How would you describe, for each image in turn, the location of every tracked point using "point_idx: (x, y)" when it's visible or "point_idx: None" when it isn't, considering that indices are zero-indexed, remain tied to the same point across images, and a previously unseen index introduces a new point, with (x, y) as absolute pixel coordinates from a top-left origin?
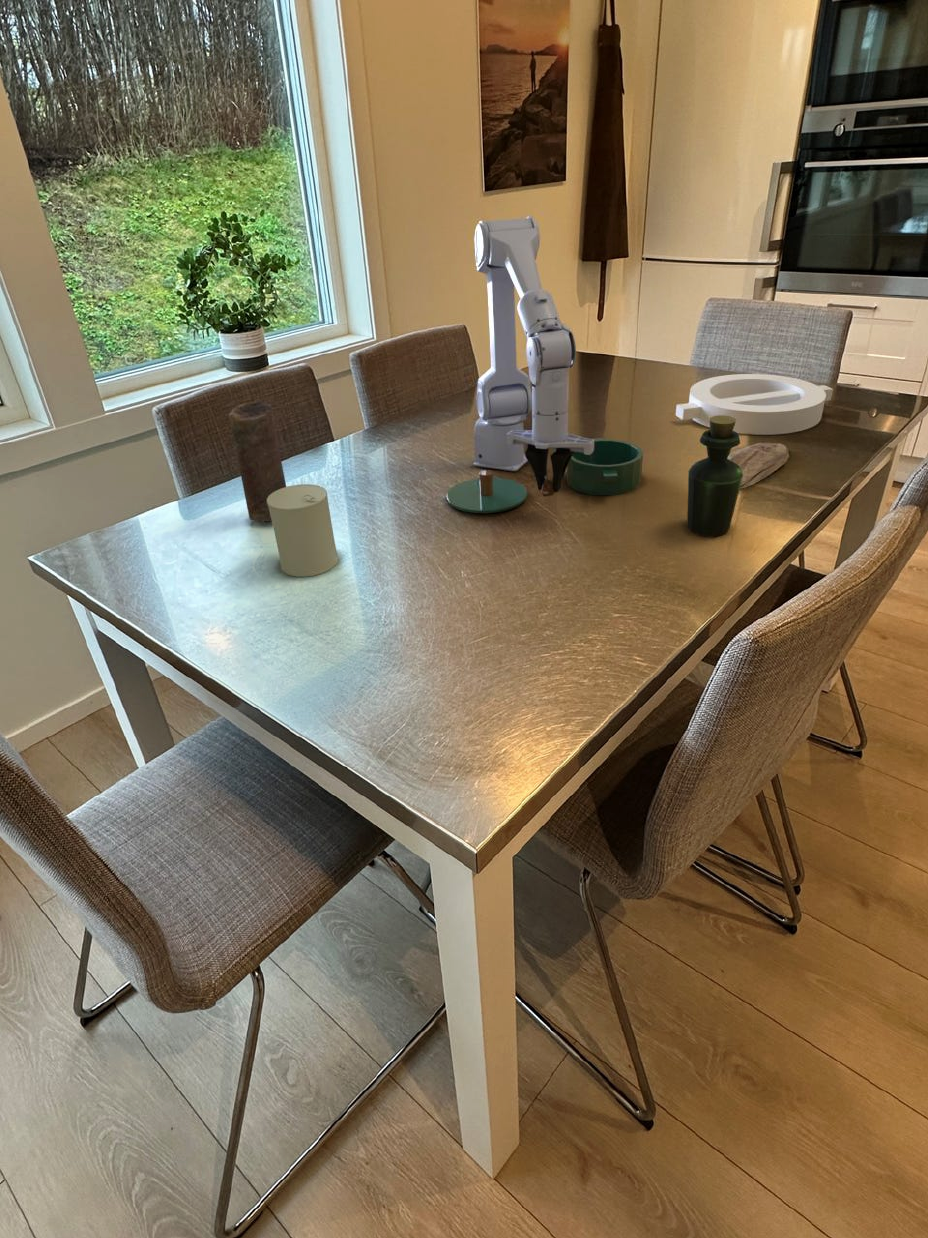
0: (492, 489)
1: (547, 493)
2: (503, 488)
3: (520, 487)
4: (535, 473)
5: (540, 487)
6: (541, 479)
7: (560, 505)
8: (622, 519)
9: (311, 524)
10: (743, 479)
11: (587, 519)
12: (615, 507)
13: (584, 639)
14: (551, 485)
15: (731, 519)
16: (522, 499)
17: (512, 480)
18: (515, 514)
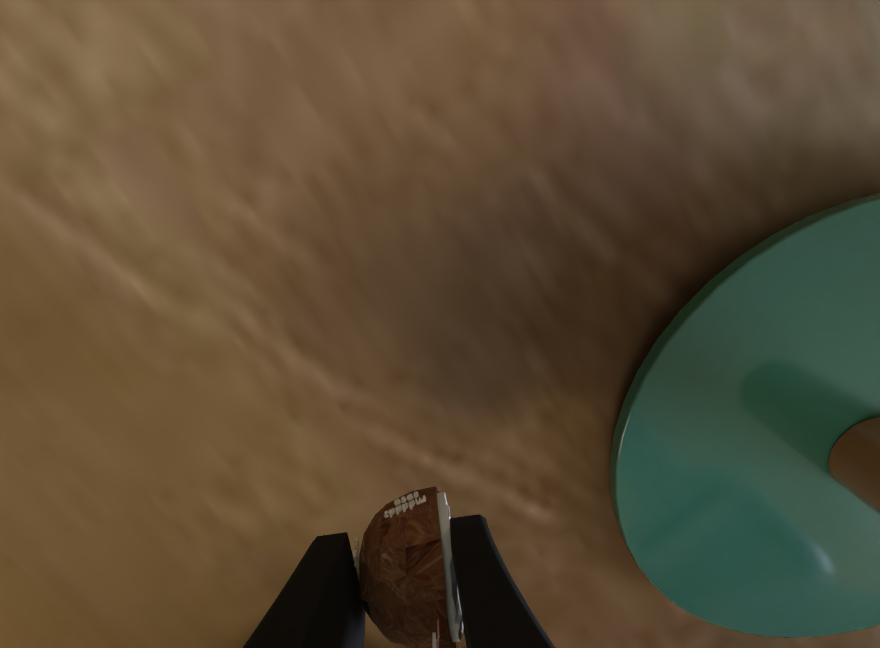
0: (855, 478)
1: (394, 506)
2: (788, 543)
3: (697, 591)
4: (526, 643)
5: (460, 530)
6: (461, 605)
7: None
8: (31, 552)
9: None
10: None
11: (184, 474)
12: (155, 636)
13: None
14: (375, 588)
15: None
16: (619, 479)
17: (774, 636)
18: (590, 341)
